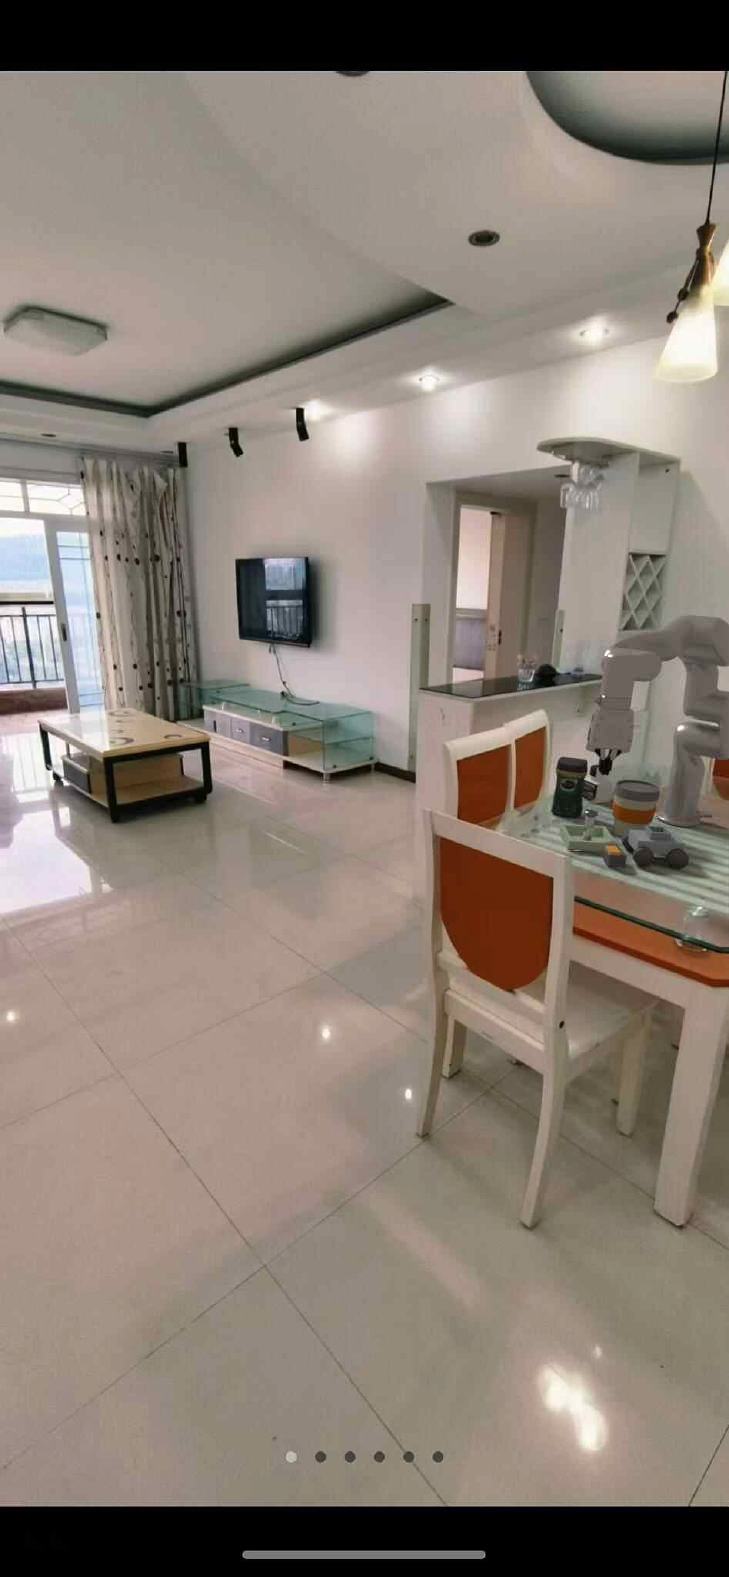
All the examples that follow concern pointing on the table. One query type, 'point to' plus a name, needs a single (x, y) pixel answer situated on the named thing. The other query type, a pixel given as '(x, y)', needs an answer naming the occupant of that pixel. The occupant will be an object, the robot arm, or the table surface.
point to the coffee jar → (569, 787)
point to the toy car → (655, 846)
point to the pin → (589, 824)
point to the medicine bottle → (597, 787)
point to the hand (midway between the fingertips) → (603, 773)
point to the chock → (614, 857)
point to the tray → (574, 840)
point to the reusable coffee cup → (634, 805)
